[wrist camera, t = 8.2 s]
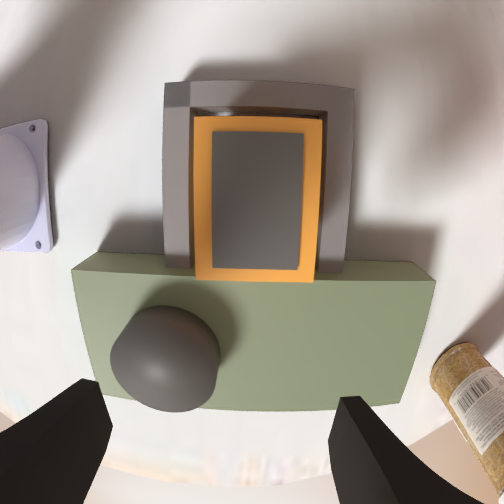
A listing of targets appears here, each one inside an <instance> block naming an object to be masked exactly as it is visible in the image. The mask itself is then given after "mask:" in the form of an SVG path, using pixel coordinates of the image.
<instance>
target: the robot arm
mask: <svg viewBox="0 0 504 504" xmlns="http://www.w3.org/2000/svg"><path fill="white" fill-rule="evenodd" d="M34 125H35V131H34V132H33V127H34ZM47 139H48V123H47V121H46V120H44V119H37V120H32V121H28V122H24V123H20V124H16V125H12V126H8V127H5V128H1V129H0V251H14V252H36V253H48V252H50V251H51V250H52V249H53V237H52V228H51V218H50V206H49V190H48V163H47ZM39 241H40V243H41V246H40V245H39ZM112 428H113V425H112V422H111V419H110V416H109V413H108V410H107V408H106V405H105V401H104V398H103V395H102V392H101V389H100V386H99V382H97V381H92V380H87V379H80V380H79V381H77V382H76V383H74V384H73V385H71V386H70V387H69V388H67V389H66V390H64V391H63V392H62V393H60V394H59V395H57V396H56V397H55V398H53V399H52V400H50V401H49V402H48V403H46V404H45V405H43V406H42V407H40V408H39V409H38V410H36V411H35V412H33V413H32V414H30V415H29V416H27V417H25V418H24V419H22V420H21V421H19V422H17V423H16V424H14V425H13V426H11V427H9V428H8V429H6V430H4V431H2V432H1V433H0V504H83V503H84V500H85V498H86V495H87V493H88V491H89V489H90V486H91V484H92V481H93V479H94V477H95V475H96V472H97V470H98V468H99V466H100V464H101V461H102V459H103V457H104V454H105V452H106V449H107V445H108V442H109V439H110V435H111V431H112ZM328 445H329V454H330V463H331V470H332V474H333V478H334V482H335V486H336V490H337V494H338V498H339V502H340V504H484V503H482V502H480V501H478V500H476V499H474V498H473V497H471V496H469V495H467V494H465V493H464V492H462V491H460V490H459V489H457V488H456V487H454V486H452V485H451V484H450V483H449V482H447V481H446V480H444V479H443V478H442V477H440V476H439V475H438V474H436V473H435V472H434V471H432V470H431V469H430V468H429V467H428V466H427V465H425V464H424V463H423V462H422V461H421V460H420V459H419V458H418V457H417V456H415V455H414V454H413V453H412V452H411V451H410V450H409V449H408V448H407V447H406V446H405V445H404V444H403V443H402V442H401V441H400V440H399V439H398V438H397V437H396V436H395V435H394V433H393V432H392V431H391V430H390V429H389V428H388V427H387V426H386V425H385V424H384V422H383V421H382V420H381V419H380V418H379V417H378V416H377V415H376V413H375V412H374V411H373V410H372V409H371V408H370V406H369V405H368V404H367V403H366V402H365V401H364V400H363V398H362V397H361V396H347V397H340V399H339V403H338V407H337V411H336V414H335V418H334V422H333V425H332V429H331V432H330V435H329V439H328Z"/></svg>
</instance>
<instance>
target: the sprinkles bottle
mask: <svg viewBox="0 0 504 504" xmlns="http://www.w3.org/2000/svg"><path fill="white" fill-rule="evenodd" d="M430 385H431V387H432V389H433V390H434V391H435V392H436V393H438V395H439V396H440V398H441V399H442V401H443V403H444V404H445V406H446V407H447V409H448V410H449V414H450V416H451V417H452V419H453V420H454V422H455V424H456V425H457V427H458V429H459V430H460V432H461V433H462V435H463V437H464V438H465V440H466V441H467V443H469V444H470V446H471V448H472V450H473V451H474V453H475V455H476V456H477V458H478V460H479V461H480V463H481V464H482V467H483V468H484V470H485V472H486V473H487V474H488V476H489V478H490V480H491V481H492V484H493V485H494V487H495V488H496V490H497V496H498V497H500V498H499V504H504V377H503V376H502V375H501V374H500V373H499V372H498V371H497V370H496V369H495V368H493V367H492V366H491V365H490V363H489V362H488V361H487V360H486V359H485V358H484V357H483V356H482V355H481V354H480V353H479V351H478V349H477V347H476V346H475V345H473V344H472V343H461V344H459V345H456V346H453V347H452V348H450V349H449V350H448V351H447V352H446V353H444V354H443V355H442V356H441V357H440V359H439V360H438V361H437V362H436V364H435V365H434V367H433V369H432V372H431V375H430Z"/></svg>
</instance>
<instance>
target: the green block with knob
mask: <svg viewBox="0 0 504 504" xmlns="http://www.w3.org/2000/svg"><path fill="white" fill-rule="evenodd" d="M198 112H255V113H280V114H297V115H310V116H319V120H322V155H321V180H320V199H319V216H318V231H317V245H316V258H315V269H314V281H313V283H306V282H250V281H214V280H196V272H195V243H194V182H193V164H194V117H198ZM353 133H354V89H352V88H344V87H337V86H328V85H319V84H308V83H296V82H280V81H256V80H211V81H186V82H171V83H165V88H164V109H163V146H162V191H163V229H164V252H165V255H164V254H136V253H108V252H96V253H95V254H93V255H92V256H90V257H89V258H87V259H86V260H84V261H83V262H81V263H80V264H78V265H77V266H76V267H74V268H73V269H71V274H72V280H73V286H74V291H75V297H76V302H77V307H78V312H79V317H80V322H81V326H82V331H83V335H84V339H85V343H86V347H87V351H88V355H89V359H90V362H91V366H92V369H93V373H94V376H95V380H96V381H97V382H99V386H100V389H101V392H102V394H103V395H108V396H113V397H119V398H125V399H130V400H137V401H139V402H140V403H142V404H144V405H146V406H148V407H151V408H153V409H157V410H160V411H166V412H186V411H190V410H193V409H196V408H204V409H218V410H236V411H319V410H337V407H338V403H339V399H340V397H347V396H361V397H362V398H363V400H364V401H365V402H366V403H367V404H368V405H369V406H370V407H372V406H381V405H389V404H396V403H399V402H400V400H401V397H402V395H403V392H404V389H405V387H406V384H407V381H408V378H409V376H410V373H411V370H412V367H413V364H414V361H415V358H416V355H417V352H418V348H419V345H420V342H421V338H422V335H423V332H424V328H425V324H426V321H427V317H428V313H429V309H430V305H431V301H432V297H433V293H434V289H435V284H436V280H434V279H433V278H432V277H431V276H429V275H428V274H427V273H425V272H424V271H423V270H422V269H420V268H419V267H418V266H416V265H415V264H414V263H413V262H400V261H362V260H344V256H345V247H346V237H347V227H348V216H349V205H350V191H351V176H352V158H353Z"/></svg>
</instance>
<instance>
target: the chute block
mask: <svg viewBox="0 0 504 504" xmlns="http://www.w3.org/2000/svg"><path fill="white" fill-rule="evenodd" d="M321 155H322V120H319V119H306V118H289V117H265V116H203V117H194V164H193V182H194V243H195V272H196V280H214V281H250V282H306V283H313V281H314V269H315V258H316V245H317V231H318V216H319V199H320V180H321Z"/></svg>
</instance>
